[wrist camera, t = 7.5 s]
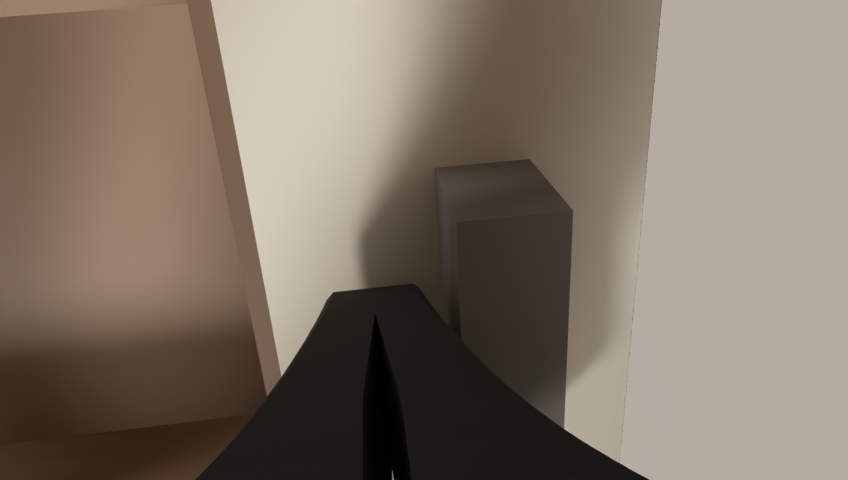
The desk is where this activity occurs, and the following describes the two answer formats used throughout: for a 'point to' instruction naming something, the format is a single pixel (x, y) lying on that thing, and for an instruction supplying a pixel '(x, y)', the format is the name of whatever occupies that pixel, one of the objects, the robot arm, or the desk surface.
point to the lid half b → (456, 175)
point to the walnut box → (123, 245)
